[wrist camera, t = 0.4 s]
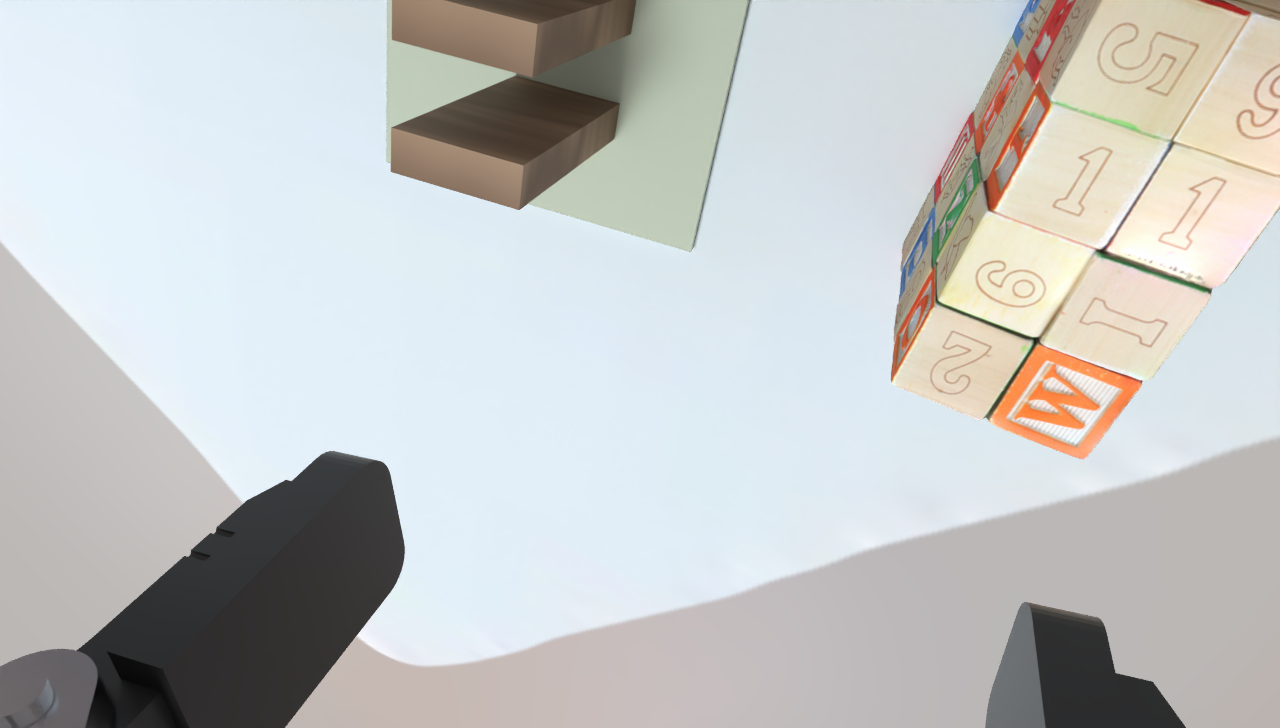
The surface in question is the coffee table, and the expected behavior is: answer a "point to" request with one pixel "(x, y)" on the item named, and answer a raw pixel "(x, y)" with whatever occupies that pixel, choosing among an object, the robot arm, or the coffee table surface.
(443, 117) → the domino
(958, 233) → the stack of blocks
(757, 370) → the coffee table surface
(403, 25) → the domino
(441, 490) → the coffee table surface
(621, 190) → the mat
